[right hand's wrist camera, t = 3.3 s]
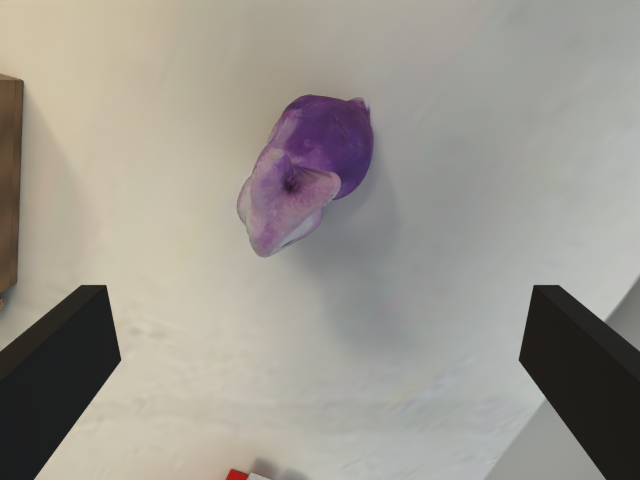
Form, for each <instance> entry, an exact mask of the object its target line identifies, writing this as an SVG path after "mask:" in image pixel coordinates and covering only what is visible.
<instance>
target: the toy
mask: <svg viewBox="0 0 640 480" xmlns="http://www.w3.org/2000/svg"><path fill="white" fill-rule="evenodd" d="M226 480H271V479H268V478H265V477H263V476H260V475H257V474H254V473H252V472H251V473H250V475H249V476H248V475H245V474H242V473H239V472H236V471H233V470H230V472H229V474H228V477H227V479H226Z"/></svg>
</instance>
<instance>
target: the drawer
mask: <svg viewBox="0 0 640 480" xmlns="http://www.w3.org/2000/svg"><path fill="white" fill-rule="evenodd" d="M2 308H3V298H2V297H0V310H1V309H2Z"/></svg>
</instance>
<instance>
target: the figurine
mask: <svg viewBox="0 0 640 480" xmlns="http://www.w3.org/2000/svg"><path fill="white" fill-rule="evenodd" d="M372 152H373V131H372V128H371V124H370V106H369V103H368V101H367V100H366V99H364V98H354V99H352V100H349V101H344V100H341V99H336V98H331V97H324V96H315V95H305V96H302V97H299V98H298V99H296V100H295V101H293V102H292V103H291V104H290V105H289V106H288V107H287V108H286V109H285V110H284V112H283V114H282V116H281V118H280V119H279V120H278V122H277V123H276V125H275V127H274V129H273V130H272V132H271V134H270V137H269V140H268V144H267V146H266V147H265V148H264V150H263V151H262V152H261V154H260V156H259V157H258V159H257V162H256V164H255V166H254V169H253V172H252V175H251V176H250V177H249V178H248V179H247V181H246V182H245V184H244V185H243V187H242V189H241V192H240V194H239V197H238V202H237V212H238V214H239V217H240V219H241V220H242V222H243V223H244V224H245V226H246V229H247V232H248V235H249V240H250V243H251V246H252V248H253V250H254V251H255V253H256V254H257V255H258V256H260V257H269V256H271V255H273V254H275V253H277V252H279V251H281V250H282V249H284V248H285V247H287V246H289V245H291V244H292V243H294V242H295V241H297V240H299V239H301V238H303V237H305V236H307V235H308V234H309V233H311V232H312V231H313V230H314V229H316V228H317V226H318V225H319V223H320V221H321V218H322V213H323V206H325V205H327V204H328V202H330V201H331V200H336V199H340V198H342V197H344V196H346V195H348V194H350V193H351V192H352V191H353V190H354V189H355V188H356V187H357V186H358V185H359V184H360V183H361V181H362V180H363V178H364V177H365V175H366V173H367V171H368V168H369V165H370V161H371V157H372Z"/></svg>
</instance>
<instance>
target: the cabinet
mask: <svg viewBox="0 0 640 480" xmlns="http://www.w3.org/2000/svg"><path fill="white" fill-rule="evenodd" d="M22 93H23V81H22V80H20V79H17V78H13V77H10V76H6V75H2V74H0V293H1V292H3V291H4V290H6V289H7V288H9V287H10V286H12V285H13V284H15V283H16V282H17V252H18V220H19V188H20V156H21V125H22Z"/></svg>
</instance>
